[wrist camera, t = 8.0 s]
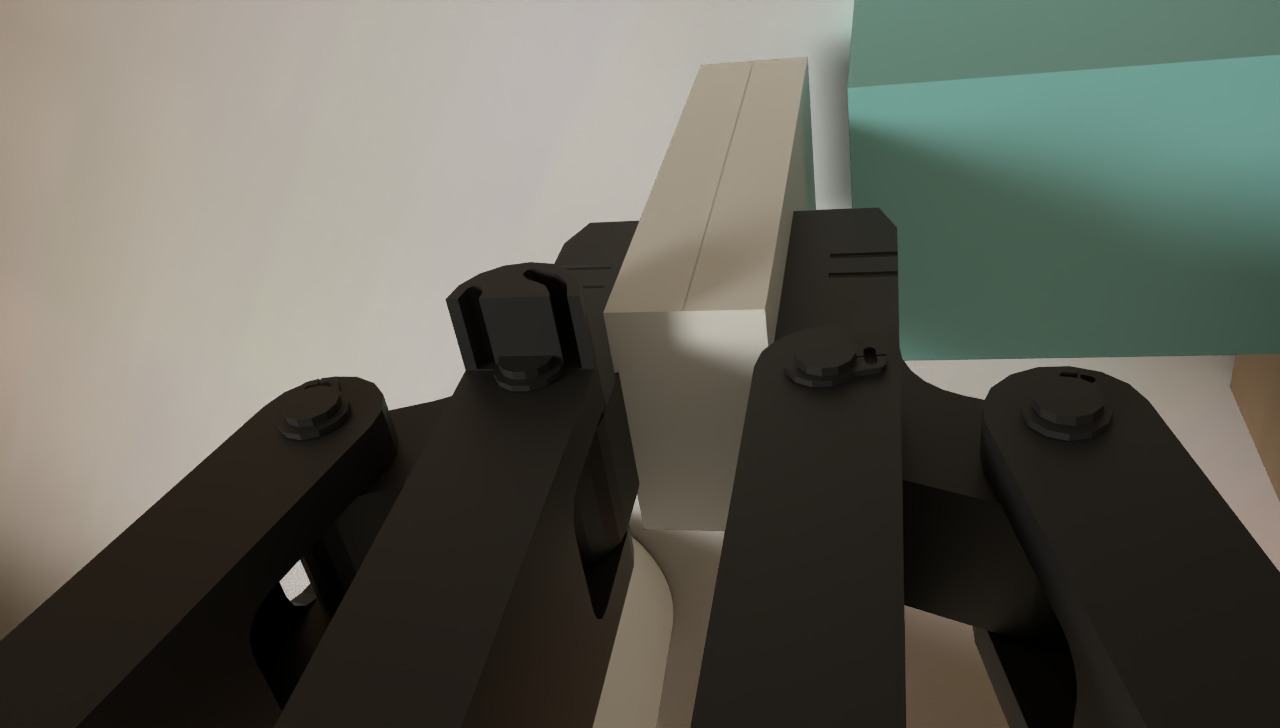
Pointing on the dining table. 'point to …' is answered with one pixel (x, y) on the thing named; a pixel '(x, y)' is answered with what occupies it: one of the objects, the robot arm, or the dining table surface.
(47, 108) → the dining table surface
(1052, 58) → the teal bar
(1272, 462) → the block
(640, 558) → the mug
